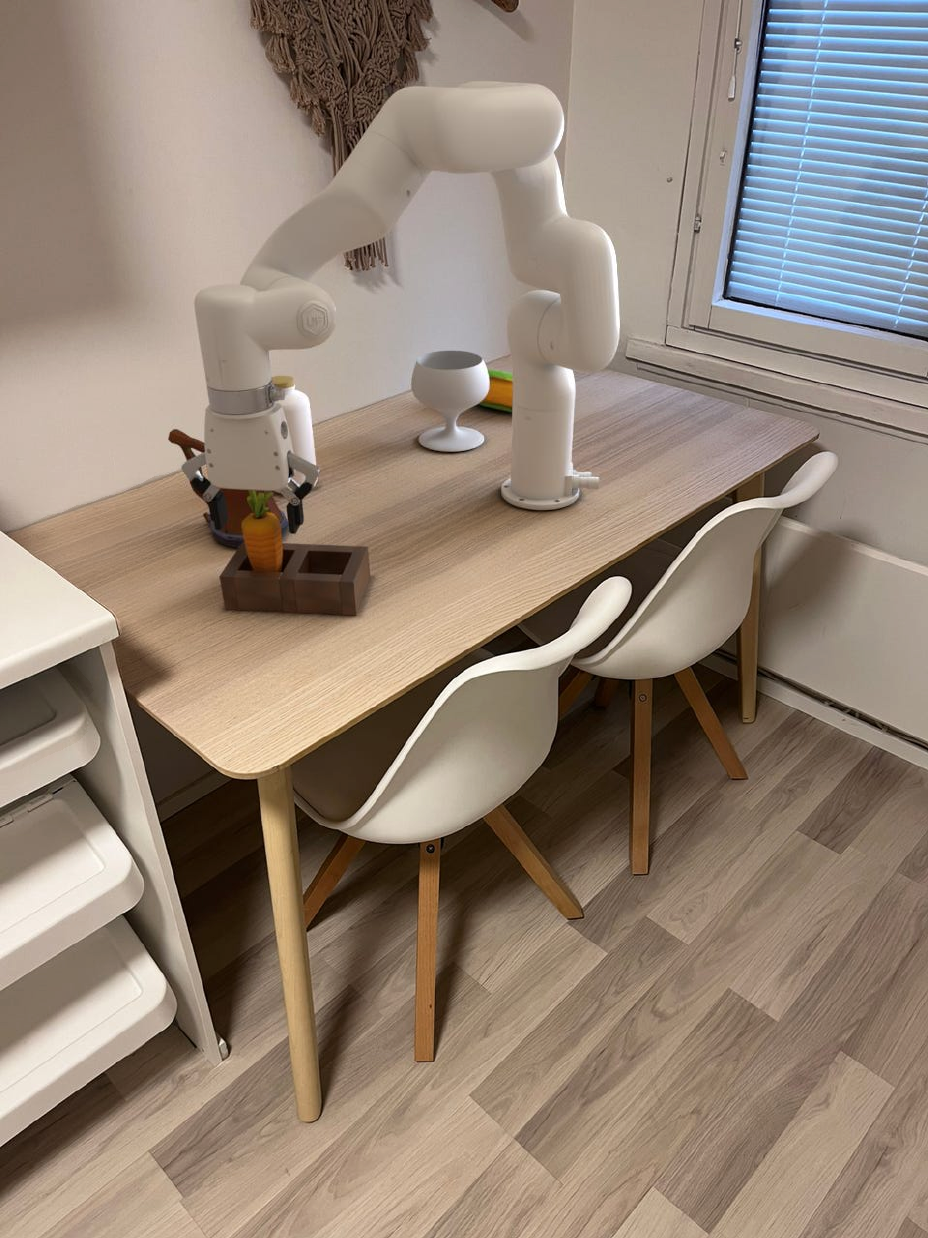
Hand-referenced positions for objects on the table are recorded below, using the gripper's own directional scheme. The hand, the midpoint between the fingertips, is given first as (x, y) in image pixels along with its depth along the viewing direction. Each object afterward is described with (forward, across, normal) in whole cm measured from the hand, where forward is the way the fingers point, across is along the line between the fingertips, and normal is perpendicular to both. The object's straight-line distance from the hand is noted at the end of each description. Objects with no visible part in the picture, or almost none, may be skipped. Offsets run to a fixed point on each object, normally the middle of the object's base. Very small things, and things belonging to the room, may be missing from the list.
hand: (258, 527), depth 115 cm
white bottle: (+10, +6, -34) cm, 36 cm away
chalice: (+9, -18, -56) cm, 60 cm away
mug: (+10, +11, -18) cm, 23 cm away
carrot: (+10, 0, 0) cm, 10 cm away
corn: (+9, -27, -74) cm, 80 cm away
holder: (+10, -4, 0) cm, 11 cm away
